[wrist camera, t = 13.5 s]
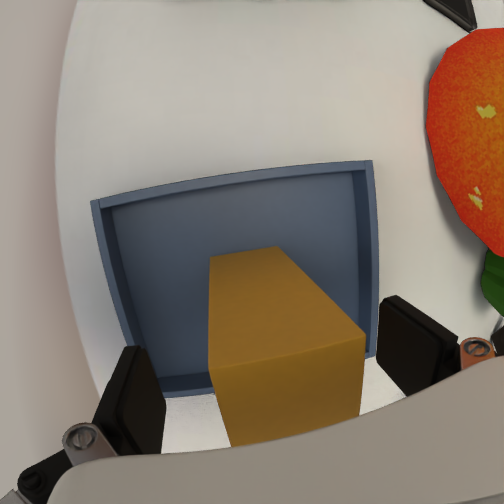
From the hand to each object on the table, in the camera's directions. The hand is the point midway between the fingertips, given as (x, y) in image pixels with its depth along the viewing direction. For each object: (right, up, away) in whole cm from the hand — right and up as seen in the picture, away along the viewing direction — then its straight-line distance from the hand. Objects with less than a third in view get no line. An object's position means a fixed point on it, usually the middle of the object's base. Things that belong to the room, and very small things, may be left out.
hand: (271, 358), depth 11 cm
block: (-1, +2, +9) cm, 9 cm away
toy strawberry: (+20, +14, +10) cm, 27 cm away
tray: (-1, +2, +9) cm, 10 cm away
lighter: (+30, -8, +16) cm, 34 cm away
